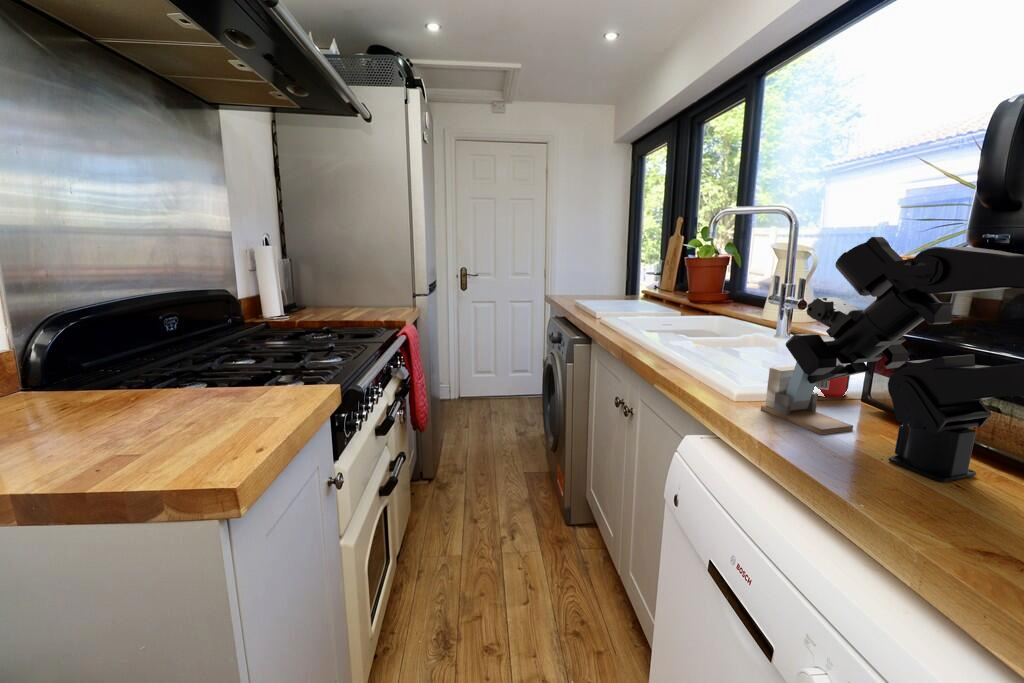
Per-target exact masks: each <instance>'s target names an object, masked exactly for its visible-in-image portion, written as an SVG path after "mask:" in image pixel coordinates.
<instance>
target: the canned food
mask: <svg viewBox="0 0 1024 683" xmlns="http://www.w3.org/2000/svg"><path fill="white" fill-rule="evenodd" d="M820 337H821V338H822V339H823V340H824V342H825V341H833V340H835V339H834V338H833V337H830V336H829V335H828V336H825V335H820ZM850 377H851V375H850V376H845V377H840V378H836V379H831V380H827V381H823V382H818V383H816V384H815V386H816V387H817V388H818V389H820V390H821V392H822V393H823V394H824V396H825V397H824V398H827V399H842V398H844V397H843V395H844V394H845V392H846V391H847V389H848V388H849V384H850V379H851V378H850ZM848 390H849V389H848ZM847 392H848V391H847Z"/></svg>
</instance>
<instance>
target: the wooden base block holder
mask: <svg viewBox="0 0 1024 683" xmlns="http://www.w3.org/2000/svg"><path fill="white" fill-rule="evenodd" d="M794 368H795V365H785V366H784V365H783V366H774V367H769V370H768V380H767V387H766V388H767V390H766V398H765V404H761V406H760V410H761V411H764V412H766V413H768V414H770V415H773V416H775V417H778V418H780V419H783V420H786V421H788V422H790V423H793V424H795V425H798V426H800V427H803V428H805V429H807V430H810V431H813V432H815V433H817V434H819V435H827V434H833V433H841V432H849V431H853V430H854V425H853V424H850V423H848V422H845V421H843V420H840V419H837V418H834V417H831V416H828V415H825V414H824V413H820V412H818V411H817V404H818V403H817V402H818V397H819V396H818V394H817V393H814V392H812V395H811V398H810V403H809V405H808V408H807V409H801V410H793V411H790V409H791V401H792V396H789V395H786V391H787V388H788V385H789V383H790V380H791V377H792V374H793V371H794Z"/></svg>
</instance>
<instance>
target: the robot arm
mask: <svg viewBox="0 0 1024 683" xmlns="http://www.w3.org/2000/svg"><path fill="white" fill-rule="evenodd" d="M835 268H836V269H837V271H839V273H840V274H841V275H842V276H843V277H844V279H845V280H846V281H847V282H848V283H849V284H850V286H851V287H852V288H853V289H854V290H855V291H856V293H858V295H860V296H862V297H867V296H872V297H873V298H876V299H875V300H874V301H872V302H871V303H870V304H869V305H868V306H867V307H866V308H864V309H860V308H859V307H858V306H855V305H854V304H852V303H851V302H848V301H847V300H844V299H842V298H840V297H835V296H832V297H816V298H814V299H813V300H812V301H811V302H810V303H808V304H807V308H806V315H807V316H808V317H809V318H811V319H812V320H815V321H817V322H820V323H821V324H823V325H824V326H826V327H828V329H827V330H826V331H825V332H826V333H827V335H828V336H829V337H833V338H834V339H835V340H833V341H825V342H824V340H823V339H822V338H821V337H820V336H821V335H820V334H817V333H804V334H803V333H799V334H798V333H797V334H793V335H792V336H791V337H790V338H789V339H788V340H787V341H786V342H785V347H786V348H787V350H788V351H789V353H790V354H791V356H792V357H793V359H794V360H795V361H796V362H797V363H798V364H799V366H800V367H801V369H802V370H803V372H804V373H806V374H807V375H808V379H807V380H808V381H809V383H810V384H813V383H818V382H823V381H827V380H831V379H836V378H840V377H845V376H850V377H851V376H854V375H859V374H864V373H868V372H869V371H870V368H869V366H868V365H867V364H866V363H869V362H871V363H872V362H878V361H879V360H881V359H882V358H884V356H885V357H886V358H887V360H886V361H885V362H883V367H884V369H886V370H889V369H894V370H893V371H892V373H891V375H890V377H889V378H888V381H887V391H888V394H889V396H890V398H891V401H892V407H893V410H894V416H895V420H896V421H897V422H899V423H902V425H899V426H898V430H897V435H896V441H895V442H896V443H895V448H894V455H891V456H888V459H887V460H888V462H890V463H894V464H896V465H897V466H901V467H903V468H905V469H908V470H911V471H913V472H915V473H918V474H920V475H923V476H925V477H927V478H930V479H933V480H935V481H937V482H942V483H945V482H950V481H956V480H961V479H967V478H971V477H976V475H977V472H976V471H975V470H973V469H970V465H971V464H970V463H971V458H972V454H973V448H974V443H975V438H976V434H977V431H976V430H975V429H971V428H976V427H978V428H981V427H983V426H984V425H985V424H986V423H987V421H988V420H989V419H990V417H991V416H992V412H991V411H990V409H989V408H987V406H986V405H985V403H984V402H983V401H986V400H989V399H992V398H993V399H994V398H1005V397H1006V398H1007V397H1024V362H1020V363H1012V364H1011V363H1010V364H1000V365H981V364H980V365H979V364H976V358H975V357H976V356H975V355H976V354H964V355H963V354H962V355H953V356H951V355H950V356H940V357H937V358H931V359H929V358H928V359H919V360H916V359H915V360H909V353H910V352H909V351H908V350H907V349H906V347H904V346H903V344H902V343H904V342H906V341H907V339H906V338H905V337H904V336H905V335H906V334H907V333H908V332H910V331H912V330H913V329H914V328H915V327H917V326H918V325H919V324H921V323H922V322H924V321H926V322H927V324H928V325H943V324H951V323H952V322H953V313H952V307H953V303H952V302H950V301H949V302H943V301H940V300H939V299H938V298H937V297H936V296H935V295H934V294H961V293H963V294H965V293H967V294H968V293H976V292H986V291H988V292H990V291H996V290H997V291H998V290H1006V289H1024V254H1020V253H1012V252H1009V251H1008V252H1007V251H1003V250H998V249H997V250H996V249H995V250H994V249H988V248H981V247H972V246H970V247H969V246H931V247H926V248H923V249H921V250H920V252H919V253H917V255H915V256H914V257H913V258H908V259H903V257H901V256H900V254H898V253H897V251H895V250H894V248H893V247H892V246H891V245H890V243H889V241H888V240H887V239H886V238H884V237H883V236H870V237H869V238H868V240H866V242H863V243H861V244H860V243H859V244H858V245H856V246H854V247H852V248H851V249H849V250H848V251H845V252H843V253H842V254H841V255H840V256H839V257H838V258H837V260H836V261H835ZM903 365H906V366H903ZM901 366H903V367H901Z"/></svg>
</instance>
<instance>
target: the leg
mask: <svg viewBox="0 0 1024 683" xmlns="http://www.w3.org/2000/svg"><path fill="white" fill-rule="evenodd" d="M794 366H795V368H794V371H793V374H792V377H791V380H790V383H789V385H788V388H787V391H786V395H789V396H792V401H791V409H790V411H793V410H801V409H807V408H808V405H809V403H810V398H811V395H812V392H813V390H814V387H815V384H816V383H813V384H810V383H809V381H808V380H807V379H808V375H807V374H806V373H804V372H803V370H802V369H801V367H800V366H799V364H798V363H797V361H796V363H795V365H794Z"/></svg>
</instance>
